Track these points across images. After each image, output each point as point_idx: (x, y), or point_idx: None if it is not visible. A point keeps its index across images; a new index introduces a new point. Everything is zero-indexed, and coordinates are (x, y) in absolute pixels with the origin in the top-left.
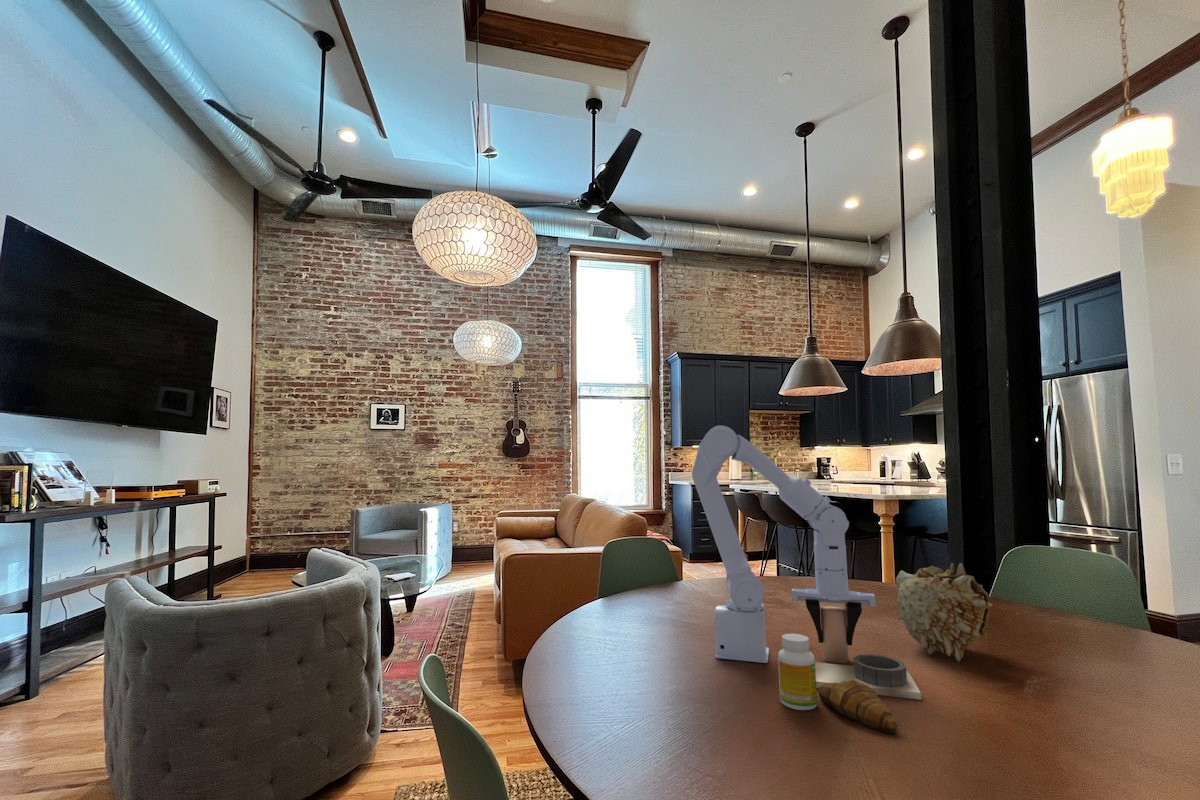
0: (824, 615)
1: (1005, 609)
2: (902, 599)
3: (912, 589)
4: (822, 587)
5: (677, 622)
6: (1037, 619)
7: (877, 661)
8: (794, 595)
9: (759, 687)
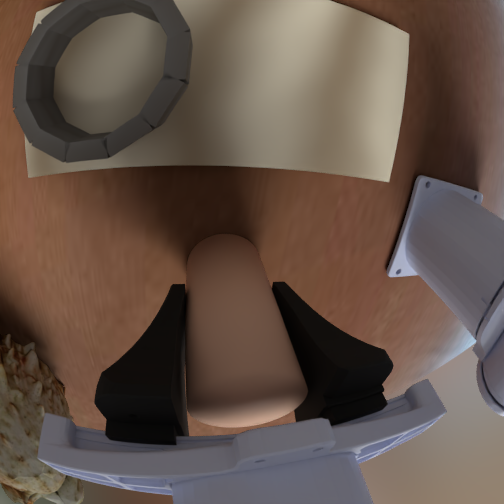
0: (293, 359)
1: None
2: None
3: (20, 466)
4: (356, 489)
5: (447, 345)
6: None
7: (90, 137)
8: (432, 399)
9: (440, 30)
